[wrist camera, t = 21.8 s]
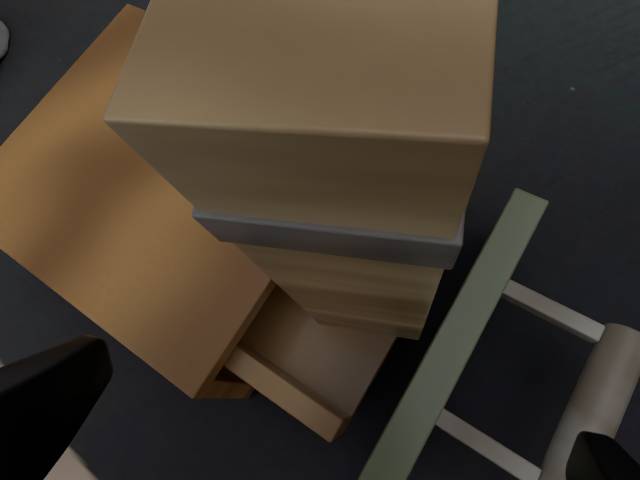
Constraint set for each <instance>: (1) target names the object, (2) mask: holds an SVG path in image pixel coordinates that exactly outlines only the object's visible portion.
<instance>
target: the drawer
mask: <svg viewBox="0 0 640 480" xmlns="http://www.w3.org/2000/svg"><path fill="white" fill-rule="evenodd" d="M473 191H474V189H472V192H471V195H470V198H469V201H468V204H467V206H466V210H465V213H466V211H467V208H468V205H469V202H470V200H471V197H472V194H473ZM548 204H549V202H548V201H547V200H544V199H542V198H540V197H537V196H535V195H532V194H530V193H528V192H525V191H523V190H520V189H518V188H515V189H514V191H513V193H512V194H511V196H510V198H509V200H508V202H507V203H506V205H505V207H504V209H503V211H502V212H501V214H500V216H499V218H498V220H497V221H496V223H495V225H494V227H493V229H492V231H491V232H490V234H489V236H488V238H487V240H486V242H485V244H484V245H483V247H482V249H481V251H480V253H479V255H478V256H477V258H476V260H475V262H474V264H473V266H472V268H471V269H470V271H469V273H468V275H467V277H466V279H465V281H464V282H463V284H462V286H461V288H460V290H459V292H458V293H457V295H456V297H455V299H454V301H453V303H452V305H451V306H450V308H449V310H448V312H447V314H446V316H445V318H444V319H443V321H442V323H441V325H440V327H439V329H438V330H437V332H436V334H435V336H434V338H433V340H432V342H431V343H430V345H429V347H428V349H427V351H426V353H425V355H424V356H423V358H422V360H421V362H420V364H419V366H418V367H417V369H416V371H415V373H414V375H413V377H412V379H411V380H410V382H409V384H408V386H407V388H406V390H405V392H404V393H403V395H402V397H401V399H400V401H399V403H398V404H397V406H396V408H395V410H394V412H393V414H392V416H391V417H390V419H389V421H388V423H387V425H386V427H385V429H384V430H383V432H382V434H381V436H380V438H379V440H378V441H377V443H376V445H375V447H374V449H373V451H372V453H371V454H370V456H369V458H368V460H367V462H366V464H365V466H364V467H363V469H362V471H361V473H360V475H359V477H358V479H357V480H407V478H408V476H409V474H410V472H411V470H412V469H413V467H414V465H415V463H416V461H417V459H418V457H419V455H420V453H421V451H422V449H423V447H424V445H425V443H426V441H427V439H428V437H429V435H430V433H431V432H432V430H433V428H434V426H435V425H436V426H437V427H439V428H440V429H442V430H444V431H445V432H447V433H448V434H450V435H451V436H453V437H454V438H456V439H457V440H459V441H461V442H462V443H464V444H465V445H467V446H468V447H470V448H471V449H473V450H475V451H476V452H478V453H479V454H481V455H482V456H484V457H485V458H487V459H488V460H490V461H492V462H493V463H495V464H496V465H498V466H499V467H501V468H502V469H504V470H506V471H507V472H509V473H510V474H512V475H513V476H515V477H516V478H518V479H519V480H566V476H565V471H566V464H567V461H568V458H569V456H570V453H571V450H572V448H573V445H574V442H575V440H576V437H577V435H578V434H579V433H580V432H581V431H589V432H594V433H599V434H605V435H608V436H610V437H611V438H613V439H614V438H615V435H616V433H617V430H618V428H619V425H620V423H621V421H622V418H623V416H624V413H625V411H626V408H627V406H628V404H629V401H630V399H631V396H632V394H633V391H634V389H635V387H636V384H637V382H638V379H639V377H640V332H639V331H637V330H635V329H632V328H630V327H627V326H624V325H620V324H615V323H605V324H604V325H602V324H600V323H598V322H596V321H594V320H592V319H590V318H588V317H586V316H584V315H582V314H580V313H578V312H576V311H574V310H572V309H569V308H567V307H565V306H563V305H561V304H559V303H557V302H555V301H553V300H551V299H549V298H547V297H545V296H543V295H541V294H539V293H537V292H535V291H533V290H531V289H529V288H527V287H525V286H523V285H521V284H519V283H517V282H515V281H513V280H510V278H511V276H512V274H513V272H514V270H515V268H516V266H517V264H518V262H519V260H520V258H521V256H522V254H523V253H524V251H525V249H526V247H527V245H528V243H529V241H530V239H531V237H532V235H533V233H534V231H535V229H536V227H537V225H538V223H539V221H540V219H541V217H542V216H543V214H544V212H545V210H546V208H547V206H548ZM500 297H501V298H503V299H505V300H507V301H509V302H511V303H513V304H515V305H517V306H519V307H521V308H523V309H524V310H526V311H528V312H530V313H532V314H534V315H536V316H538V317H540V318H542V319H544V320H546V321H548V322H550V323H552V324H554V325H556V326H558V327H560V328H562V329H564V330H566V331H568V332H570V333H572V334H574V335H576V336H577V337H579V338H581V339H583V340H585V341H587V342H589V343H594V345H593V348H592V350H591V352H590V354H589V357H588V359H587V361H586V363H585V366H584V368H583V370H582V372H581V375H580V377H579V379H578V381H577V384H576V386H575V388H574V390H573V393H572V395H571V397H570V399H569V402H568V404H567V406H566V408H565V410H564V413H563V415H562V417H561V419H560V422H559V424H558V426H557V428H556V431H555V433H554V435H553V437H552V440H551V442H550V444H549V446H548V449H547V451H546V453H545V455H544V458H543V460H542V462H541V464H540V467H539V468H538V467H537V466H535V465H534V464H532V463H530V462H529V461H527V460H526V459H524V458H522V457H521V456H519V455H518V454H516V453H514V452H513V451H511V450H510V449H508V448H506V447H505V446H503V445H502V444H500V443H498V442H497V441H495V440H494V439H492V438H490V437H489V436H487V435H486V434H484V433H482V432H481V431H479V430H478V429H476V428H475V427H473V426H471V425H470V424H468V423H467V422H465V421H463V420H462V419H460V418H459V417H457V416H455V415H454V414H452V413H451V412H449V411H447V410H446V409H444V406H445V404H446V402H447V400H448V398H449V397H450V395H451V393H452V391H453V389H454V387H455V385H456V383H457V381H458V379H459V377H460V375H461V373H462V371H463V369H464V367H465V365H466V363H467V361H468V360H469V358H470V356H471V354H472V352H473V350H474V348H475V346H476V344H477V342H478V340H479V338H480V336H481V334H482V332H483V330H484V328H485V326H486V325H487V323H488V321H489V319H490V317H491V315H492V313H493V311H494V309H495V307H496V305H497V303H498V301H499V299H500ZM397 338H398V337H397V336H390V335H384V334H378V333H372V332H366V331H360V330H353V329H347V328H341V327H335V326H329V325H323V324H319V323H318V322H317V321H316V320H314V319H313V318H312V317H311V316H310V315H309V314H308V313H307V312H306V311H305V310H304V309H303V308H302V307H301V306H300V305H298V304H297V303H296V302H295V301H294V300H293V299H292V298H291V297H290V296H289V295H288V294H287V293H286V292H285V291H284V290H283V289H281V288H280V287H279V286H278V285H277V284H276V285H275V287H274V288H273V290H272V292H271V293H270V295H269V296H268V298H267V299H266V301H265V302H264V304H263V305H262V307H261V308H260V310H259V311H258V313H257V315H256V316H255V318H254V319H253V321H252V322H251V324H250V325H249V327H248V328H247V330H246V331H245V333H244V334H243V336H242V338H241V339H240V341H239V342H238V344H237V345H236V347H235V348H234V350H233V351H232V353H231V354H230V356H229V358H228V359H227V361H226V362H225V364H224V365H223V366H224V367H226V368H227V369H228V370H230V371H231V372H233V373H234V374H235V375H237V376H238V377H239V378H241V379H242V380H244V381H245V382H246V383H248V384H249V385H251V386H252V387H253V388H255V389H256V390H257V391H259V392H260V393H262V394H263V395H264V396H266V397H267V398H268V399H270V400H271V401H273V402H274V403H275V404H277V405H278V406H280V407H281V408H282V409H284V410H285V411H286V412H288V413H289V414H291V415H292V416H293V417H295V418H296V419H297V420H299V421H300V422H302V423H303V424H304V425H306V426H307V427H309V428H310V429H311V430H313V431H314V432H315V433H317V434H318V435H320V436H321V437H322V438H324V439H325V440H326V441H328V442H330V443H331V442H332V441H334V440H335V439H337V438H338V437H340V436H342V435H343V434H344V433H345V431H346V429H347V427H348V426H349V424H350V422H351V420H352V419H353V417H354V415H355V413H356V411H357V410H358V408H359V406H360V404H361V403H362V401H363V399H364V397H365V395H366V394H367V392H368V390H369V388H370V386H371V385H372V383H373V381H374V379H375V378H376V376H377V374H378V372H379V370H380V369H381V367H382V365H383V363H384V362H385V360H386V358H387V356H388V354H389V353H390V351H391V349H392V347H393V345H394V344H395V342H396V340H397Z"/></svg>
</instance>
